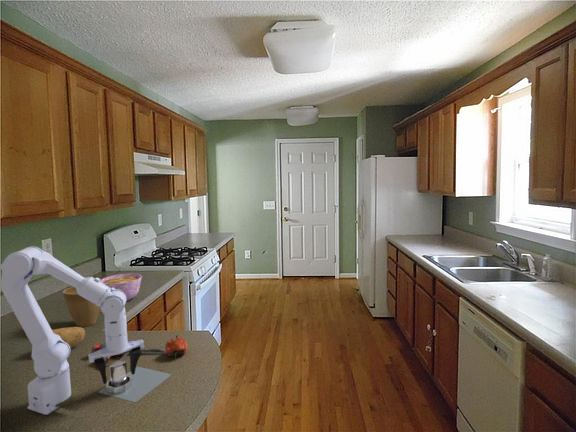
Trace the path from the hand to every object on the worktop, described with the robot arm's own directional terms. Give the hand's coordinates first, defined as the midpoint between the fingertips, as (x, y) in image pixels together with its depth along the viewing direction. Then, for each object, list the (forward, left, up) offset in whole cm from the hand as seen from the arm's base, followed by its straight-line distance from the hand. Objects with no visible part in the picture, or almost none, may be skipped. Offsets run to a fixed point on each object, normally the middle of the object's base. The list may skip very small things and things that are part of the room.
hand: (119, 377), depth 103 cm
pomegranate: (+22, -3, -4) cm, 23 cm away
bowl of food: (+63, +65, -4) cm, 91 cm away
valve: (+15, +14, -5) cm, 21 cm away
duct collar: (0, 0, -4) cm, 4 cm away
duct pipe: (0, 0, -3) cm, 3 cm away
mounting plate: (+4, -3, -4) cm, 6 cm away
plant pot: (+33, +55, -4) cm, 64 cm away
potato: (+13, +41, -4) cm, 43 cm away
